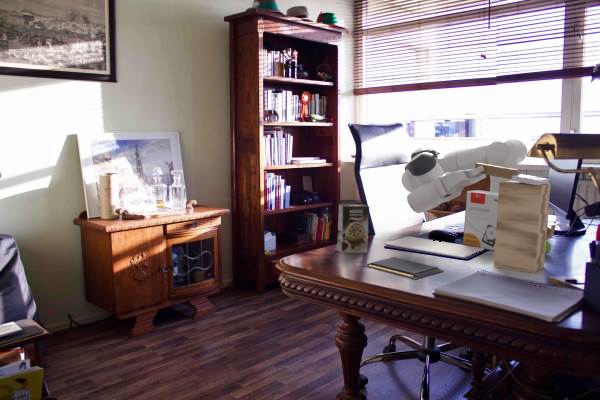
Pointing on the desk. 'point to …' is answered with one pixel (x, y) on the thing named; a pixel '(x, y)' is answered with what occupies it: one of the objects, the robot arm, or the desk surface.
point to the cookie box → (353, 228)
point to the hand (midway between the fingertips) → (486, 167)
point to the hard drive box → (481, 219)
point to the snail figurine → (549, 235)
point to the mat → (435, 247)
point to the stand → (521, 226)
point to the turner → (511, 174)
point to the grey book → (404, 268)
